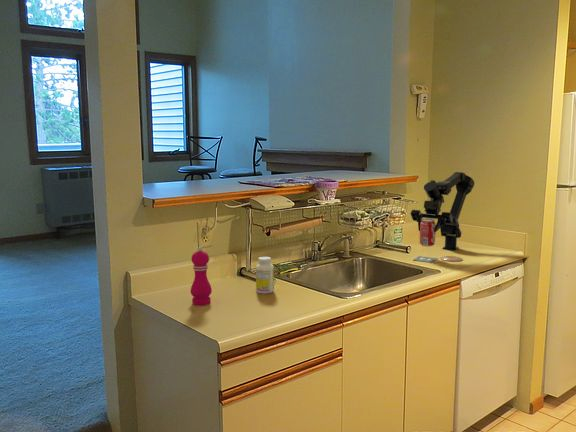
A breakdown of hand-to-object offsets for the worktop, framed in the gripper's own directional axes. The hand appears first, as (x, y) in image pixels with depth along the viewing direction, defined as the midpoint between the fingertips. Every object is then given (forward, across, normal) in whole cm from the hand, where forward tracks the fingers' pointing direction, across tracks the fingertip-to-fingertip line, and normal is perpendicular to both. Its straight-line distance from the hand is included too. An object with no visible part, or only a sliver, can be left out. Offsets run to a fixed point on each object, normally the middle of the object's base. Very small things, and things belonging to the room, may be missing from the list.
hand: (426, 231), depth 252 cm
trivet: (+5, +10, +14) cm, 18 cm away
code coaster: (+10, 0, +9) cm, 13 cm away
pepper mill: (+83, -45, -66) cm, 115 cm away
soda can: (+4, 0, +6) cm, 7 cm away
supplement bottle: (+67, -34, -49) cm, 89 cm away
